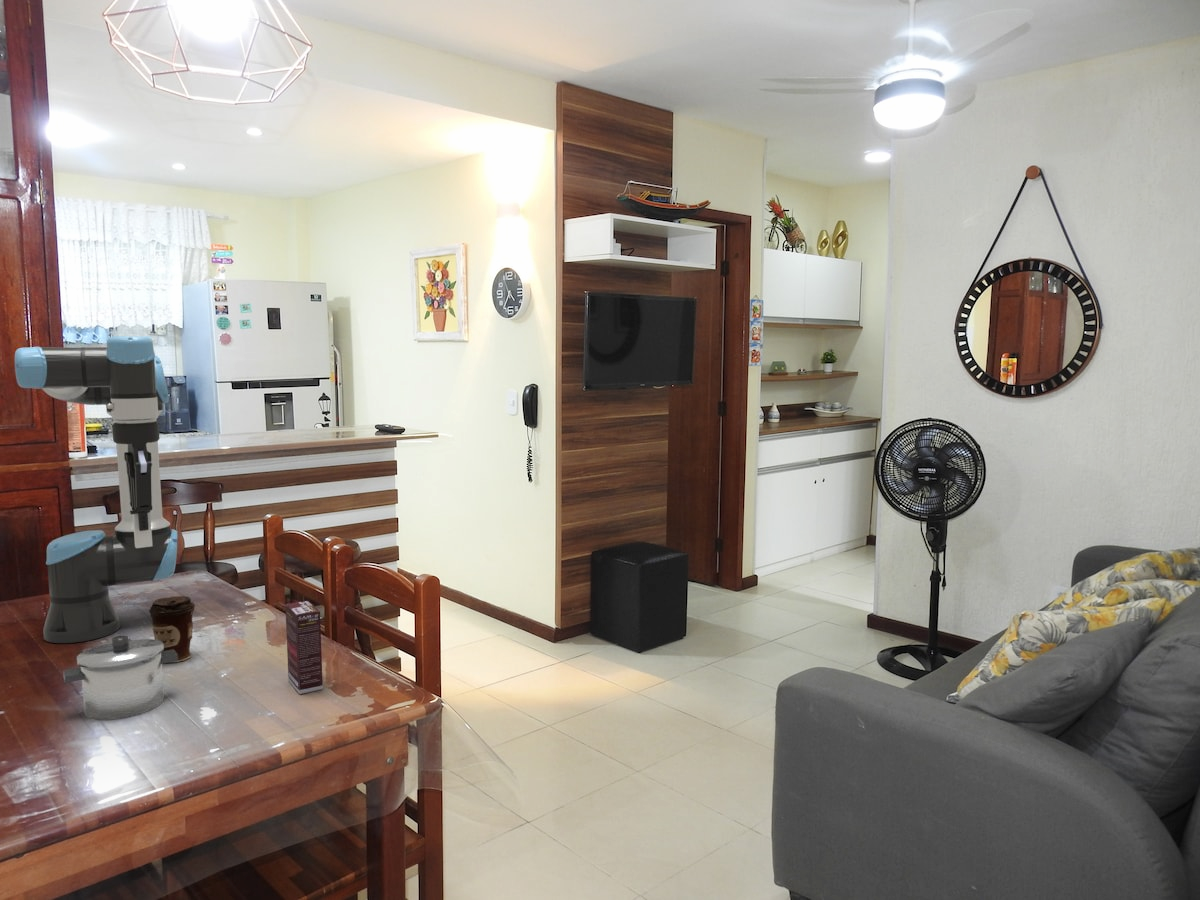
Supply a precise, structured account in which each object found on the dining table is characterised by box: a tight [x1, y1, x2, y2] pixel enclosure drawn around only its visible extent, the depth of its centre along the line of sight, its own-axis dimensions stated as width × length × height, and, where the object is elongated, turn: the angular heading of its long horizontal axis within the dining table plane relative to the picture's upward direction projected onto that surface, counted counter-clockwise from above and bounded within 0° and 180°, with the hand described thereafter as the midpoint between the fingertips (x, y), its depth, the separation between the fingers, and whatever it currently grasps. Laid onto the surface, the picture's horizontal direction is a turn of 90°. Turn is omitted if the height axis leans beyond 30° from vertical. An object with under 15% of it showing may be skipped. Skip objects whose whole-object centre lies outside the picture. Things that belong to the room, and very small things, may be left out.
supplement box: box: [285, 600, 324, 695], centre depth 165 cm, size 9×5×16 cm, turn 34°
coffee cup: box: [148, 595, 195, 664], centre depth 179 cm, size 9×8×13 cm
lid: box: [76, 635, 164, 668], centre depth 156 cm, size 15×14×4 cm
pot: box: [62, 649, 178, 721], centre depth 157 cm, size 14×18×9 cm
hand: (143, 546), depth 157 cm, fingers closed
